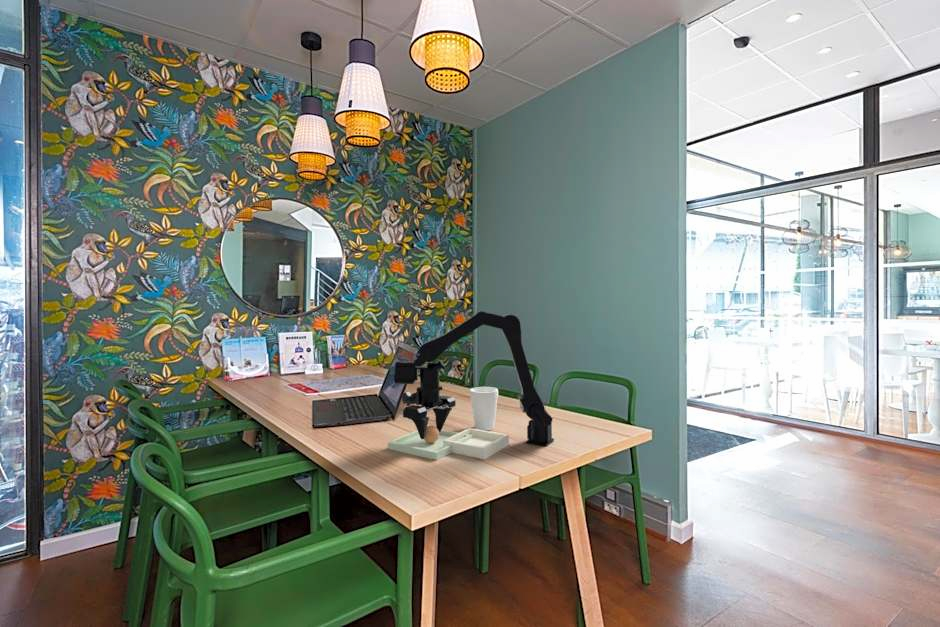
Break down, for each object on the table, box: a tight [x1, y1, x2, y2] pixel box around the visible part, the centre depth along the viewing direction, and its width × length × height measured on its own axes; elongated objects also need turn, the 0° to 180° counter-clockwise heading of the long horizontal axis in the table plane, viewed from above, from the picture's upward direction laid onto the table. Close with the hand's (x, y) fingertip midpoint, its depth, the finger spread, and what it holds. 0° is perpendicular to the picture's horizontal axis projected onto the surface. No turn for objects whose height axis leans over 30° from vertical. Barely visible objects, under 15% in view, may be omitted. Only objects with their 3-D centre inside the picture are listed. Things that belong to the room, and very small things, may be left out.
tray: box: [387, 429, 472, 461], centre depth 135 cm, size 18×18×2 cm
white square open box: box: [443, 427, 510, 460], centre depth 132 cm, size 14×14×3 cm
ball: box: [424, 425, 439, 443], centre depth 135 cm, size 5×5×5 cm
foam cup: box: [469, 386, 499, 431], centre depth 151 cm, size 10×9×13 cm
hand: (430, 435), depth 135 cm, fingers open, 8 cm apart
